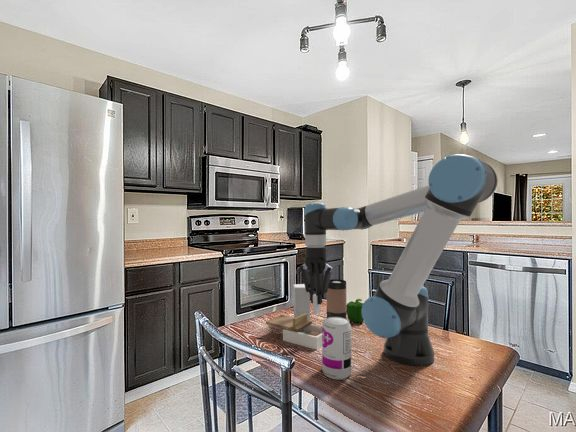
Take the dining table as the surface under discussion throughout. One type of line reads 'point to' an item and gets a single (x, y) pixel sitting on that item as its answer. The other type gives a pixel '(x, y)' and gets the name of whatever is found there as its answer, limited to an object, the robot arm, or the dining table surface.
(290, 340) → the keepsake box
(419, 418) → the dining table surface
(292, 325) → the lid
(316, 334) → the cube terracotta
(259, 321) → the dining table surface
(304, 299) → the skincare box
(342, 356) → the supplement can
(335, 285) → the travel mug
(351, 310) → the bell pepper
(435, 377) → the dining table surface
